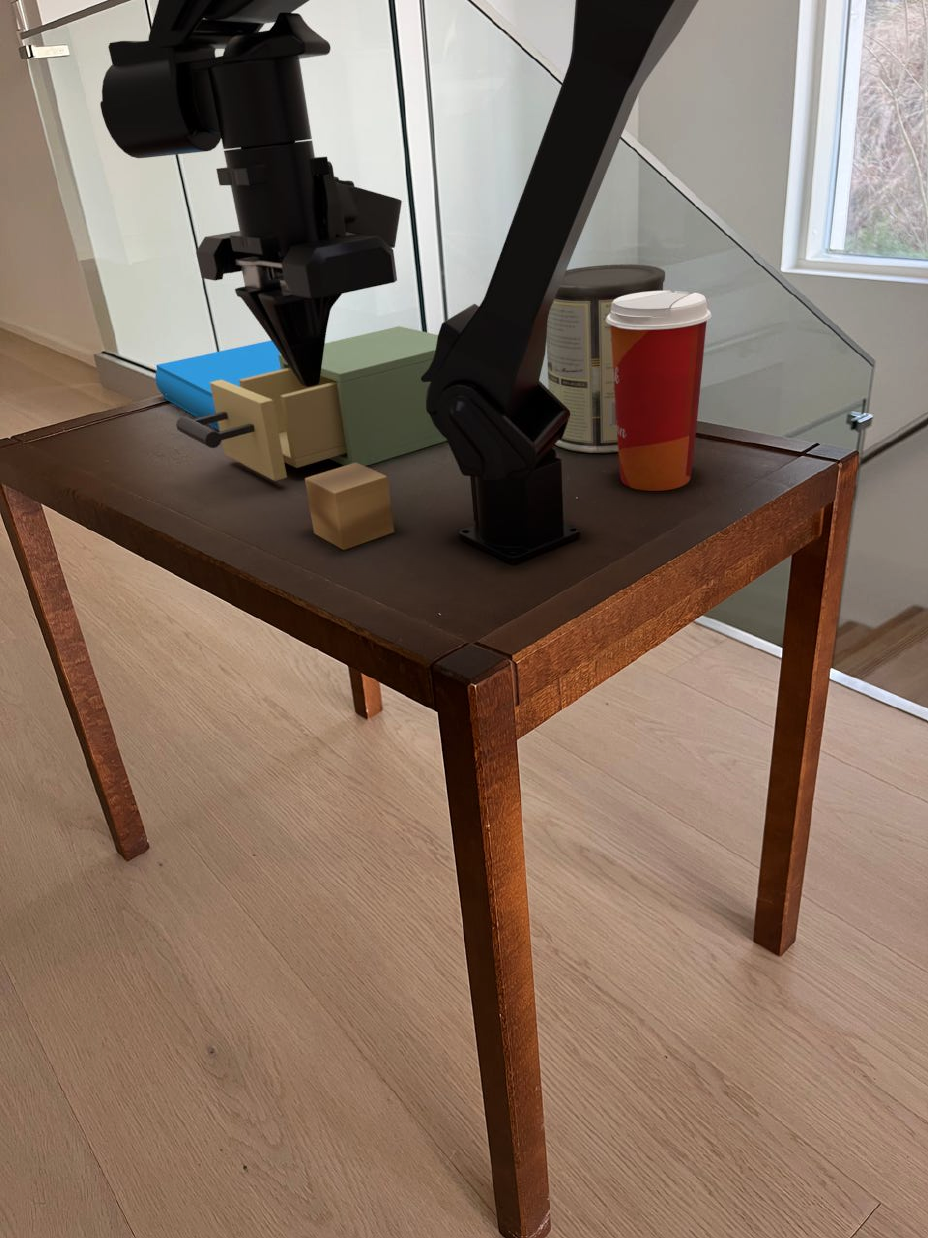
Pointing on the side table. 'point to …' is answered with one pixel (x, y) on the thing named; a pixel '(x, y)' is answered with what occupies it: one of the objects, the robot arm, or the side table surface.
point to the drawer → (272, 422)
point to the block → (350, 505)
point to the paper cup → (657, 384)
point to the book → (212, 375)
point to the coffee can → (590, 349)
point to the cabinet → (381, 393)
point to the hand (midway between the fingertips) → (310, 384)
